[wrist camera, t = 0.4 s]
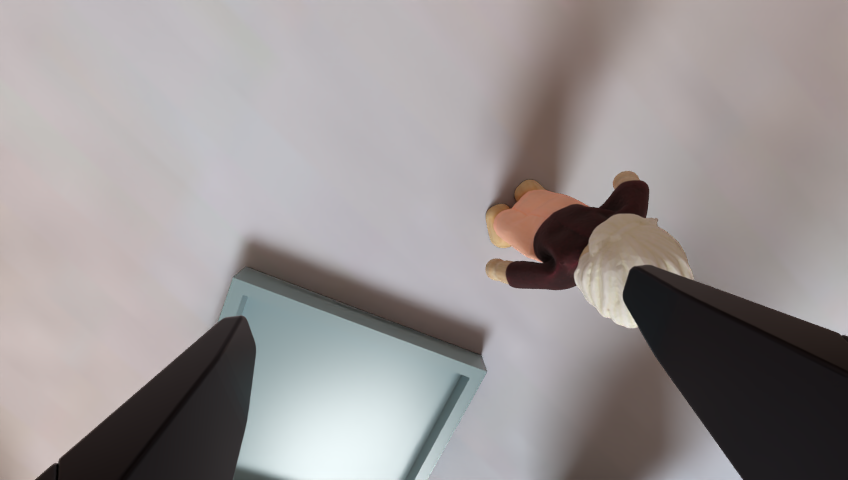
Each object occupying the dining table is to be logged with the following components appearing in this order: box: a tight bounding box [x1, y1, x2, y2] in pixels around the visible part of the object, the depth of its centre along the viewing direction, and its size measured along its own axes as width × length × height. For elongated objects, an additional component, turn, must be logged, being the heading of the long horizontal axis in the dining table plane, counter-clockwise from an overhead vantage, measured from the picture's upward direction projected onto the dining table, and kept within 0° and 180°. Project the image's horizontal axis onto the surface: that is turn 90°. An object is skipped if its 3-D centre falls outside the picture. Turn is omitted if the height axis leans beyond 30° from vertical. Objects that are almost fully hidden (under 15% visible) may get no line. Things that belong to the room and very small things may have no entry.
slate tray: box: [218, 267, 487, 480], centre depth 25 cm, size 16×16×2 cm
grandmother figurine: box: [486, 171, 694, 328], centre depth 16 cm, size 8×4×13 cm, turn 138°
